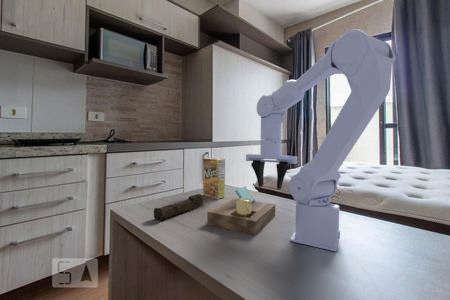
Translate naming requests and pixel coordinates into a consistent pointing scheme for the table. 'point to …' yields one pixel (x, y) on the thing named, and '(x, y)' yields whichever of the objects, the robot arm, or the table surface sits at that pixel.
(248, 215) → the peg
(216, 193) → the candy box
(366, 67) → the robot arm
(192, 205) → the dark brown log
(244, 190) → the teal flat square block
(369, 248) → the table surface
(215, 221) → the block
